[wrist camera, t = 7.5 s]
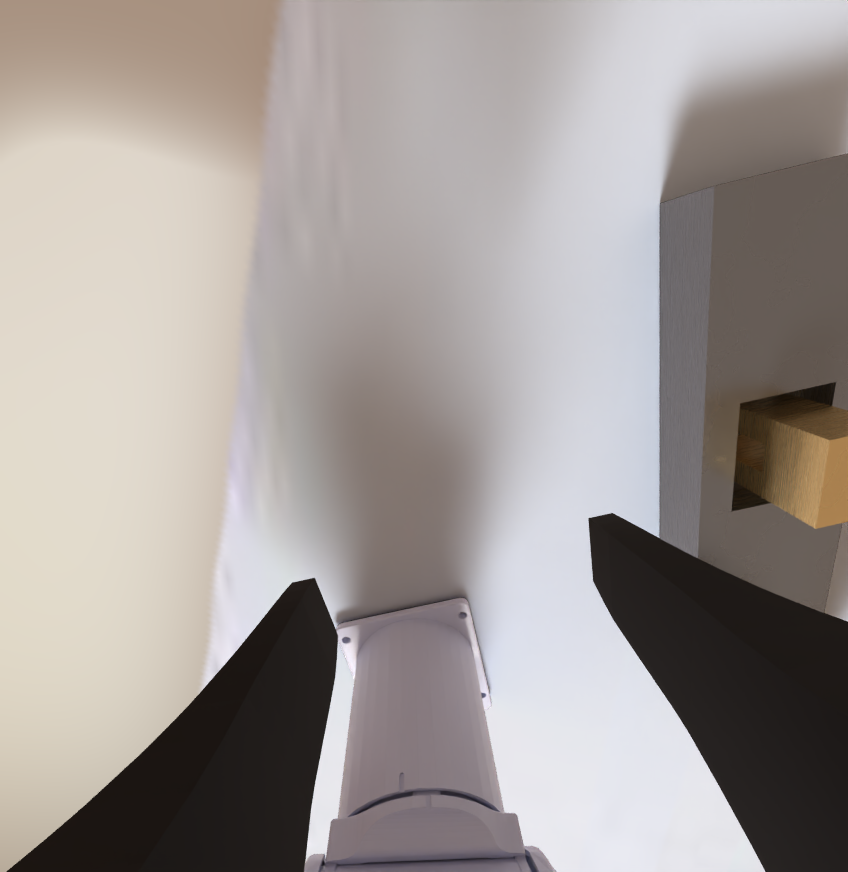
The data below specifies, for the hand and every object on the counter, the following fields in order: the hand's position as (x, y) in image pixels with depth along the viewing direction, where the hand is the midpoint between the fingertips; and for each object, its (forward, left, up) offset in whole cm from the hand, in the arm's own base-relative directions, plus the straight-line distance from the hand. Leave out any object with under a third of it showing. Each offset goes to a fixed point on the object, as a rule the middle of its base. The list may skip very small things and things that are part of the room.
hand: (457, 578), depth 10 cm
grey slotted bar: (-3, -15, -10) cm, 18 cm away
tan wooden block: (-3, -15, -10) cm, 18 cm away
